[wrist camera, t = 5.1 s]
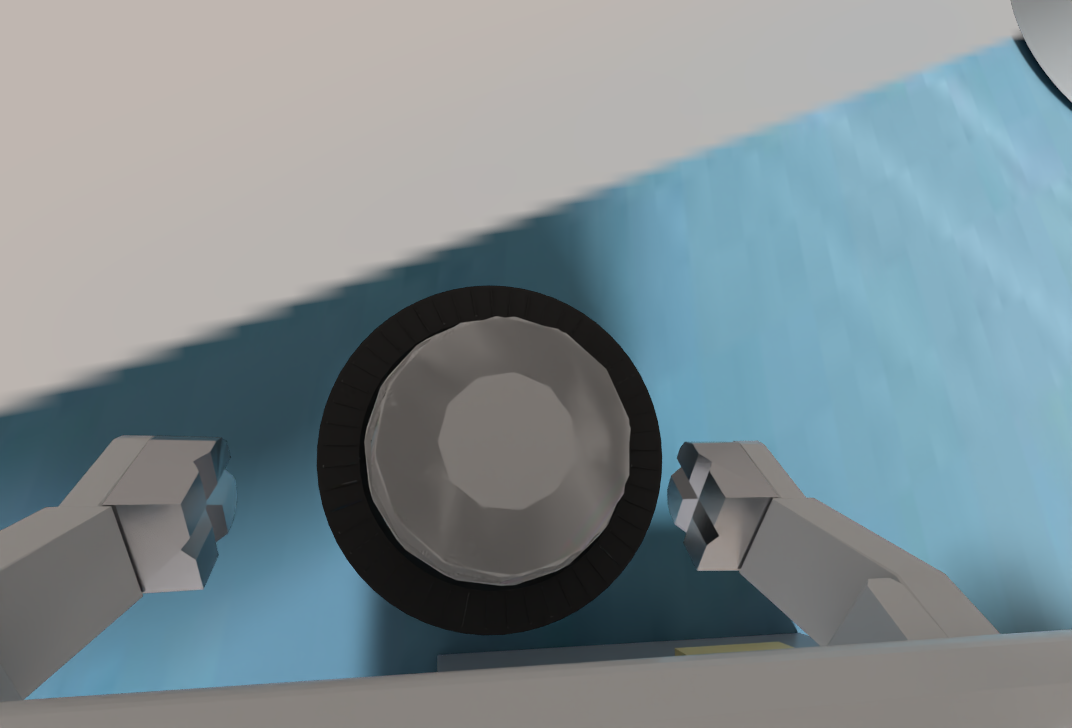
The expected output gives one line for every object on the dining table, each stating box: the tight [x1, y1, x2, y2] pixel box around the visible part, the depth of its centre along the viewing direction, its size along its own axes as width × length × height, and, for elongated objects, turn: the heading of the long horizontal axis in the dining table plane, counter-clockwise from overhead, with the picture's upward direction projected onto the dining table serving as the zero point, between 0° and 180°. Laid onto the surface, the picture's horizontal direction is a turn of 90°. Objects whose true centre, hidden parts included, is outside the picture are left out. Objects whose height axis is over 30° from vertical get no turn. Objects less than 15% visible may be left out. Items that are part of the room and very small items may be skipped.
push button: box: [317, 286, 662, 635], centre depth 12 cm, size 7×5×10 cm
